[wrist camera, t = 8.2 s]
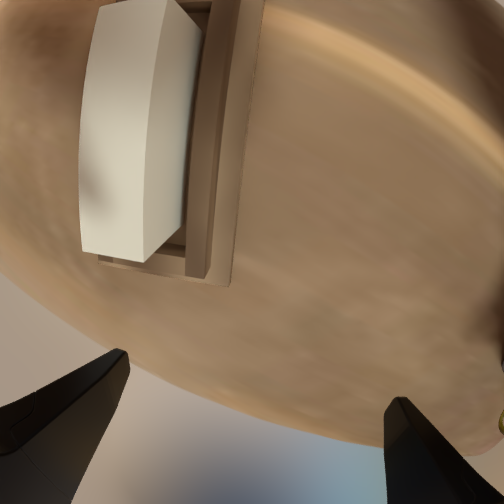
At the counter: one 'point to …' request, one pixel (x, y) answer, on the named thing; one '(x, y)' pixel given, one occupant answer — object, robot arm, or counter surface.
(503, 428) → the ceramic cup
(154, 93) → the white rectangular block
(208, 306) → the counter surface
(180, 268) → the rack
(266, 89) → the counter surface
